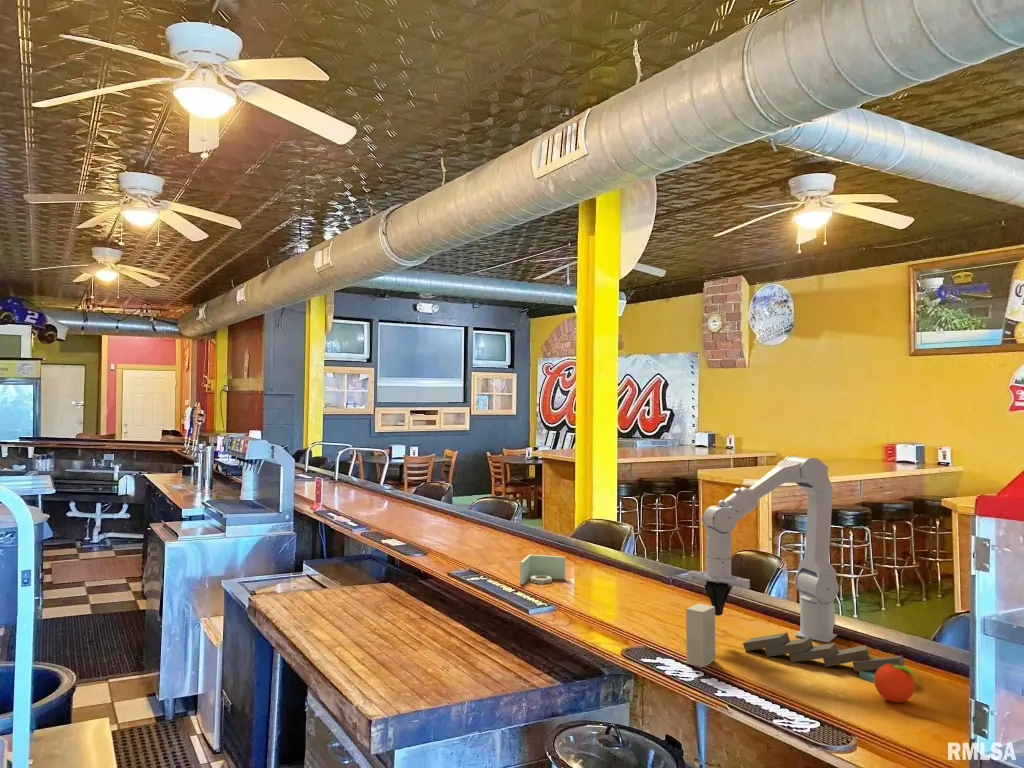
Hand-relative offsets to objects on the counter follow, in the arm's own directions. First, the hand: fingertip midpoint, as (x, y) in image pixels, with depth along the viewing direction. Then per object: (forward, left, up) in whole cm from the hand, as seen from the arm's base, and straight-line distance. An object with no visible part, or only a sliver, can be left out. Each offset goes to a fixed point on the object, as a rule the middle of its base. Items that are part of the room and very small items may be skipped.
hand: (718, 614), depth 176 cm
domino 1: (0, +7, -6) cm, 9 cm away
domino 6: (0, +33, -6) cm, 33 cm away
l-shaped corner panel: (-21, -67, -7) cm, 70 cm away
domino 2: (0, +12, -6) cm, 14 cm away
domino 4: (0, +24, -5) cm, 25 cm away
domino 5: (0, +31, -5) cm, 31 cm away
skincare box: (+16, +3, -7) cm, 17 cm away
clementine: (+12, +41, -7) cm, 43 cm away
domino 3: (0, +18, -6) cm, 18 cm away
